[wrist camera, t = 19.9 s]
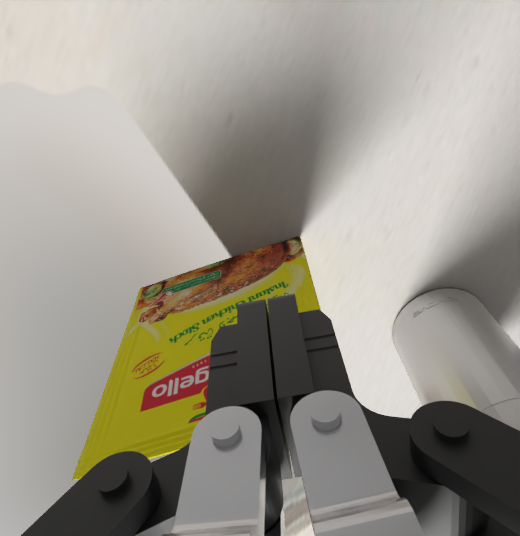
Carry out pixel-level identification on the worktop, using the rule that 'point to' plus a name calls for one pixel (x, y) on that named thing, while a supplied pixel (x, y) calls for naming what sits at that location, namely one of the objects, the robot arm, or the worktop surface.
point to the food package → (183, 349)
